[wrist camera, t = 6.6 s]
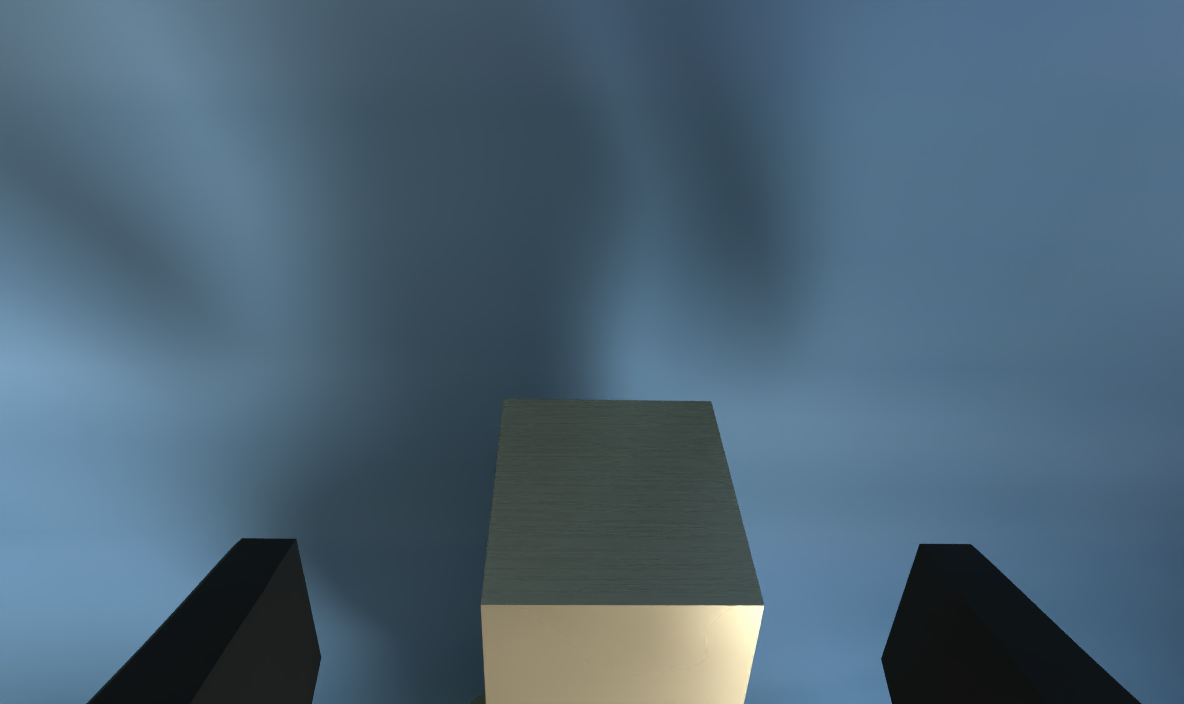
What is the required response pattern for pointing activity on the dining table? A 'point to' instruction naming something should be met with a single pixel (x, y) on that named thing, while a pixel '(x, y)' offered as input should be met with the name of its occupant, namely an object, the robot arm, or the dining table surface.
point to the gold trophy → (616, 558)
